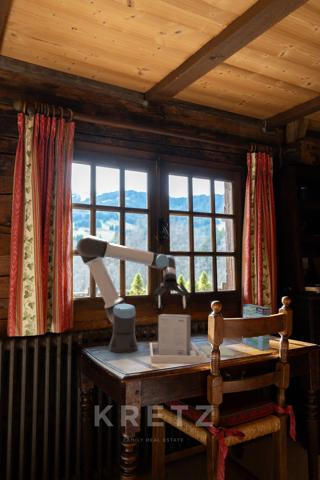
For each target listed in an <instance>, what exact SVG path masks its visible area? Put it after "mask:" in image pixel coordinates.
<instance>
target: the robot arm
mask: <svg viewBox="0 0 320 480" xmlns="http://www.w3.org/2000/svg"><path fill="white" fill-rule="evenodd" d="M76 251H77V253H78V254H79V256H80V258H81V260H82V262H83V264H84V265H87V267H88V268H89V271H90V272H91V274H92V277H93V279H94V282H95V284H96V286H97V288H98V290H99V292H100V295H101V297H102V300H103V301H104V303H105V304H104V310H105V313H106V314H107V318H108V320H109V322H110V323H112V336H111V339H110V342H109V345H108V349H109V350H108V351H110V352H113V353H116V354H117V353H118V354H119V353H122V354H123V353H125V354H126V353H134V352H137V351H138V350H139V344H138V341H137V338H136V332H135V331H136V308H135V306H134V305H132V304H128V303H126V302H125V299H124V298H123V297H120V295H119V293H118V291H117V289H116V287H115V284H114V281H113V280H112V278H111V275H110V273H109V271H108V269H107V267H106V264H105V262H104V260H103V259H105V258H112V259H116V260H120V261H124V262H125V261H126V262H129V263H136V264H140V265H144V266H146V267H150V268H154V269H157V270H162V272H163V282H161V281H159V282H158V285H157V287H156V288H155V290H154V291H153V293H152V297H153V298H155V300H156V303H158V309H160V308H161V296H162V295H163V294H164V293H165V292H166V291H173V292H174V291H175V292H176V293H178V294H179V295H180V296H181V297H182V304H183V309H186V306H187V304H186V303H187V302H188V298H190V296H191V295H190V292H189V291H188V289H187V288H186V287H185V286H184V284H183V282H180V283H178V280H177V279H178V278H177V271H176V260H175V259H176V258H175V257H174V256H173V255H171V254H163V253H156V252H152V251H147V250H142V249H139V248H134V247H130V246H125V245H120V244H117V243H111V242H109V240H108V239H107V240H106V239H103V238H99V237H97V236H95V235H86V236H83V237H82V238H80V239H79V240H78V241H77V244H76Z"/></svg>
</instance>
